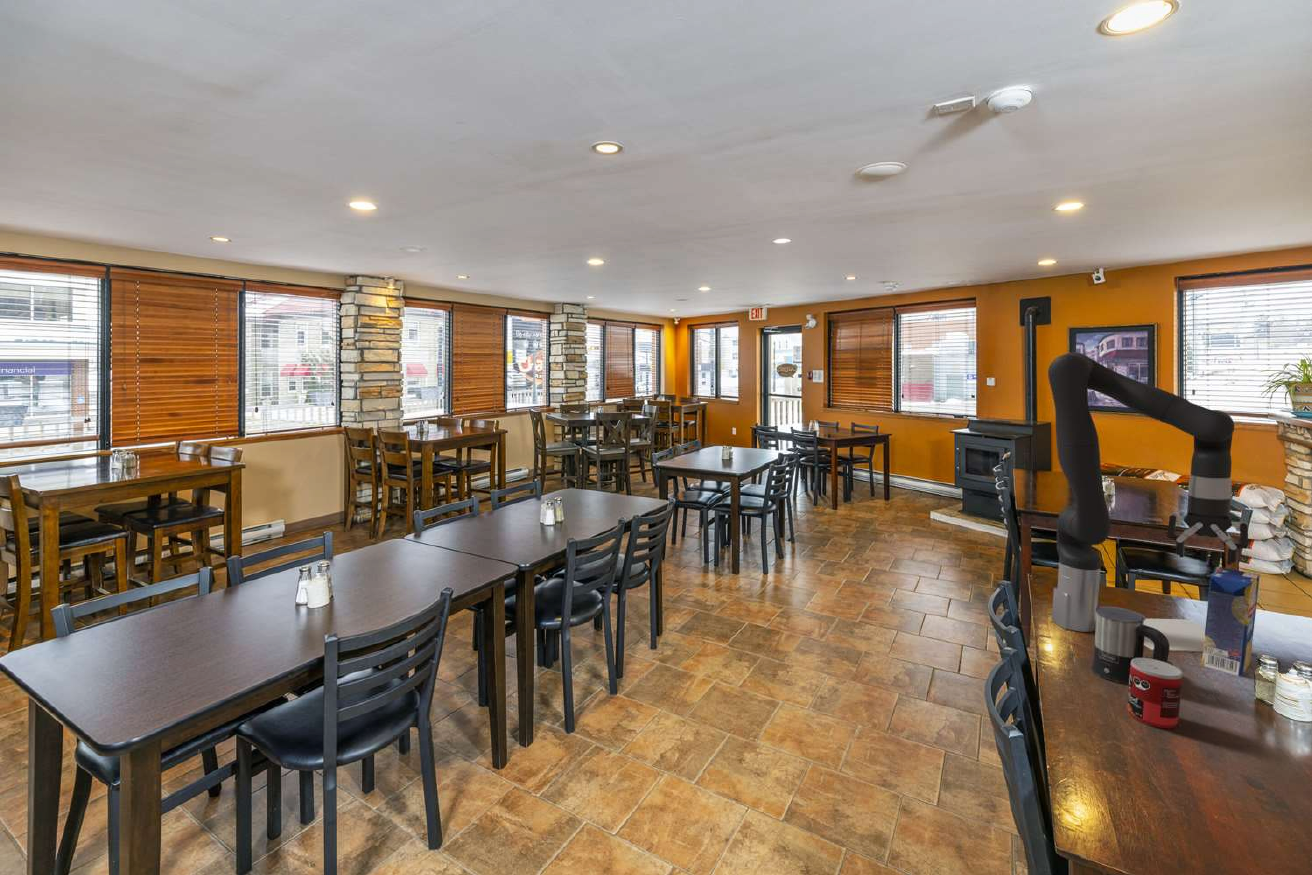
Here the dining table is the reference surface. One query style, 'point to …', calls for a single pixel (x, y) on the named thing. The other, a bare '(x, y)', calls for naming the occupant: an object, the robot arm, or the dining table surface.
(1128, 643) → the milk frother
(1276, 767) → the dining table surface
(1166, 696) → the canned food
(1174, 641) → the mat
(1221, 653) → the beverage box
